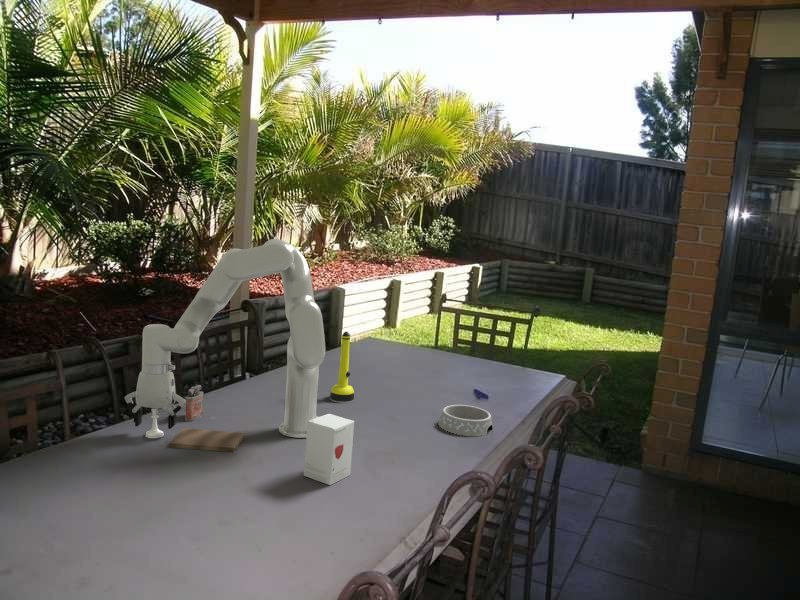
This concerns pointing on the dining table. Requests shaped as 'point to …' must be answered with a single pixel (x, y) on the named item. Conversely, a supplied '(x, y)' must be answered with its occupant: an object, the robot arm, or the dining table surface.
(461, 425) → the dog bowl
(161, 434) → the chess piece
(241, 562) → the dining table surface
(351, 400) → the flashlight
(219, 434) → the walnut board
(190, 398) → the lighter
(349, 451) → the supplement box
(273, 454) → the dining table surface
